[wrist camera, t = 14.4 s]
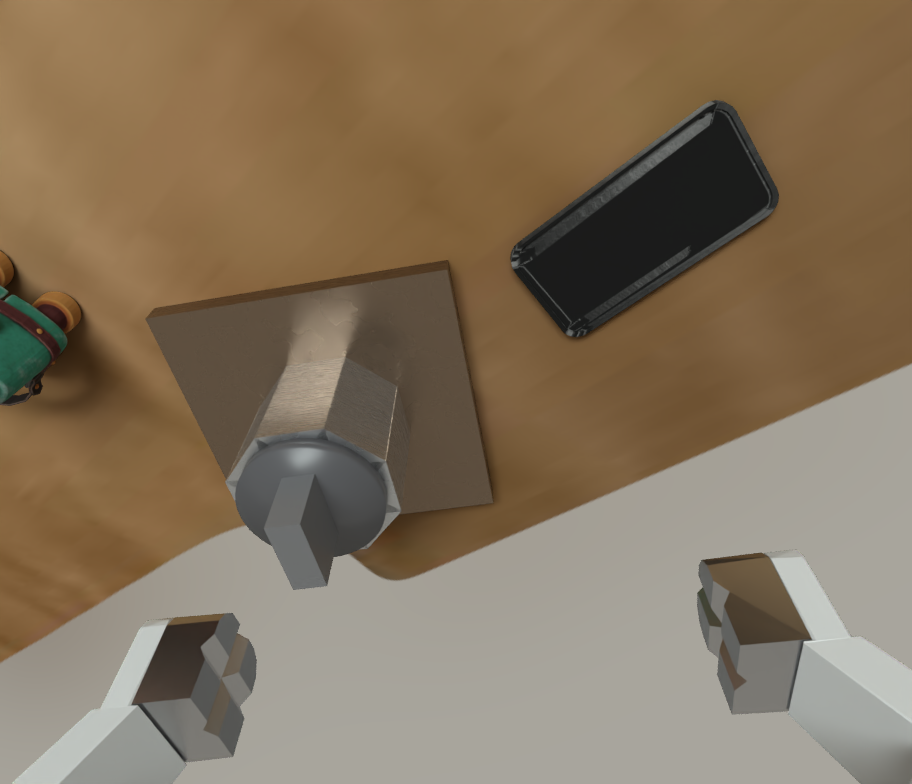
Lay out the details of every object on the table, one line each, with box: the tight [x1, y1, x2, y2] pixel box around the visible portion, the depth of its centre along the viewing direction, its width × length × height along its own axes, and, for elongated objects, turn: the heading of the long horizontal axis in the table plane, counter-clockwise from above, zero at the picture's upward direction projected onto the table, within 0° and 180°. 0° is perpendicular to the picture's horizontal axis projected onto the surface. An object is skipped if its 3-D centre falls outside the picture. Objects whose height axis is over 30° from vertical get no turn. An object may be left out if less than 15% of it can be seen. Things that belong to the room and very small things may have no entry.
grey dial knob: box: [235, 438, 387, 590], centre depth 38 cm, size 9×9×7 cm
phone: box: [511, 100, 779, 337], centre depth 39 cm, size 8×1×15 cm
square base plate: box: [146, 260, 493, 549], centre depth 43 cm, size 20×20×10 cm
